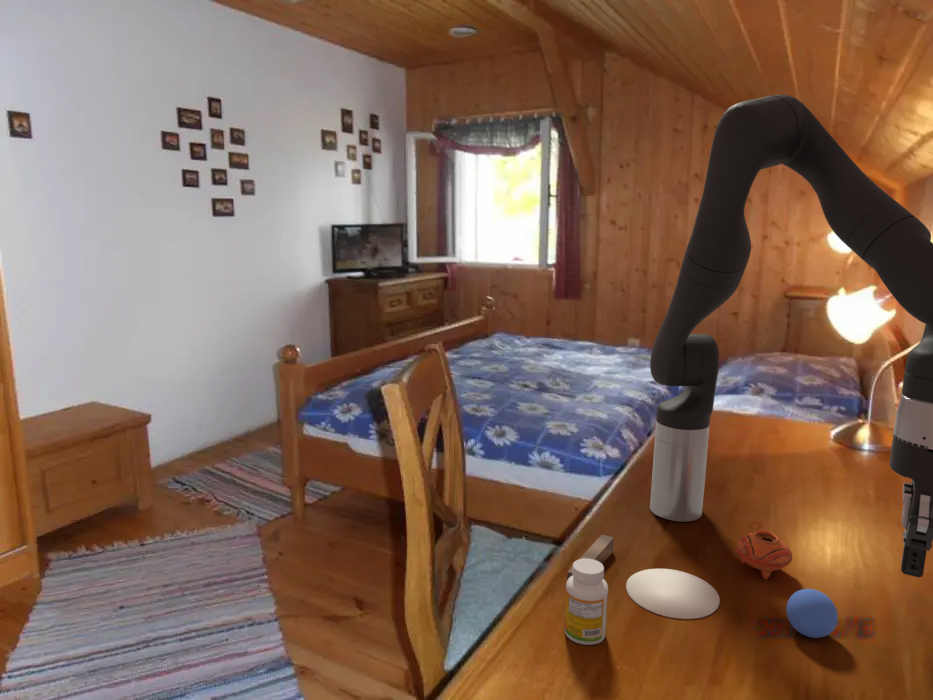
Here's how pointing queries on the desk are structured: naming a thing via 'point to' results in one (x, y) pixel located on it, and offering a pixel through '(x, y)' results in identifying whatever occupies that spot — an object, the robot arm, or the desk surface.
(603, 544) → the wall
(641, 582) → the white round plate
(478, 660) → the desk surface
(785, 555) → the pot
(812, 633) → the ball
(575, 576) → the supplement bottle
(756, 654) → the desk surface
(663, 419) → the robot arm
